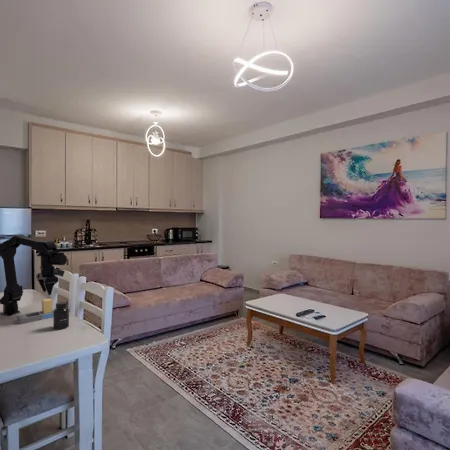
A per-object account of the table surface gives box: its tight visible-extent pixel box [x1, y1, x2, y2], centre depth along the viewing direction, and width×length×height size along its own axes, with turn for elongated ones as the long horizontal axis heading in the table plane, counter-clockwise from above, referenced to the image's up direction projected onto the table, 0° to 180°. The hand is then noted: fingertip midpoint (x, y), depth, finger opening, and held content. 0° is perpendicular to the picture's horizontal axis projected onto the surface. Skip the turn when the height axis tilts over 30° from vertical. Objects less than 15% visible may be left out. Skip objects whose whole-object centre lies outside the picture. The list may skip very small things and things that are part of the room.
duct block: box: [16, 307, 56, 325], centre depth 166 cm, size 19×8×2 cm, turn 135°
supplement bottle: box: [52, 301, 70, 330], centre depth 152 cm, size 7×7×12 cm
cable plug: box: [41, 298, 53, 314], centre depth 168 cm, size 4×4×9 cm
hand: (47, 293), depth 168 cm, fingers open, 9 cm apart
